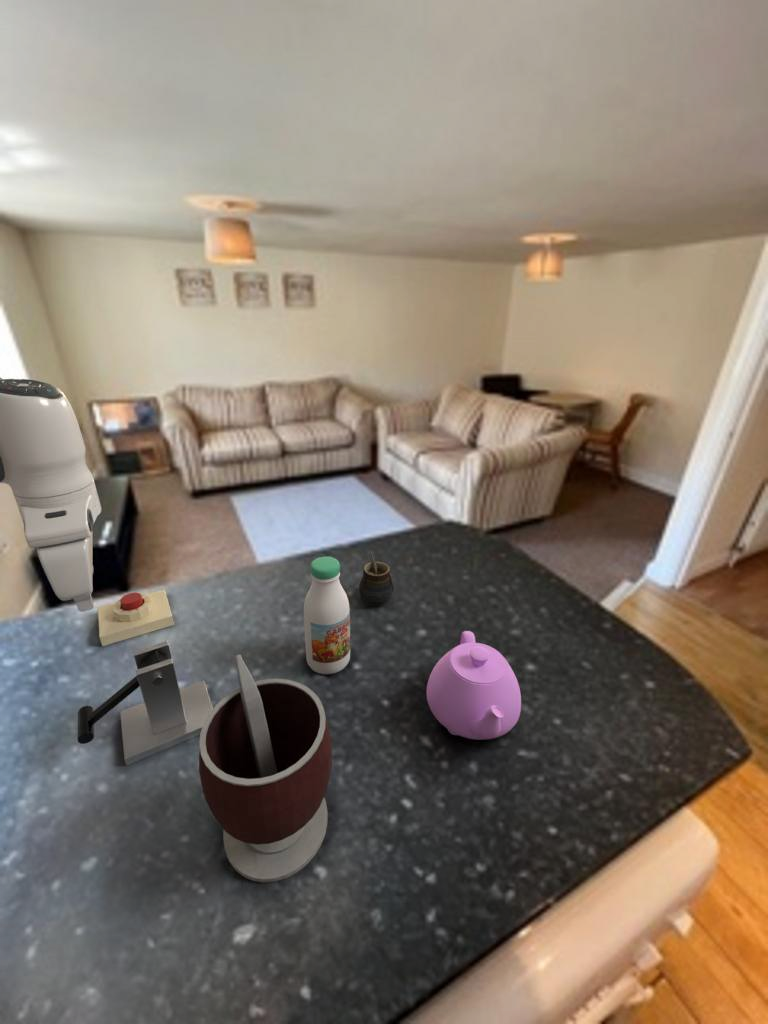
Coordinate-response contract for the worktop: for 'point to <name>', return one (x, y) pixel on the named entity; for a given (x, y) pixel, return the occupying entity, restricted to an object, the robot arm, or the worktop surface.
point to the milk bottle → (326, 619)
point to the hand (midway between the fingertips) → (87, 590)
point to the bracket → (162, 708)
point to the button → (131, 601)
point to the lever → (109, 703)
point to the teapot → (474, 691)
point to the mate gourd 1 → (267, 774)
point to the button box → (134, 618)
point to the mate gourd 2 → (376, 583)
